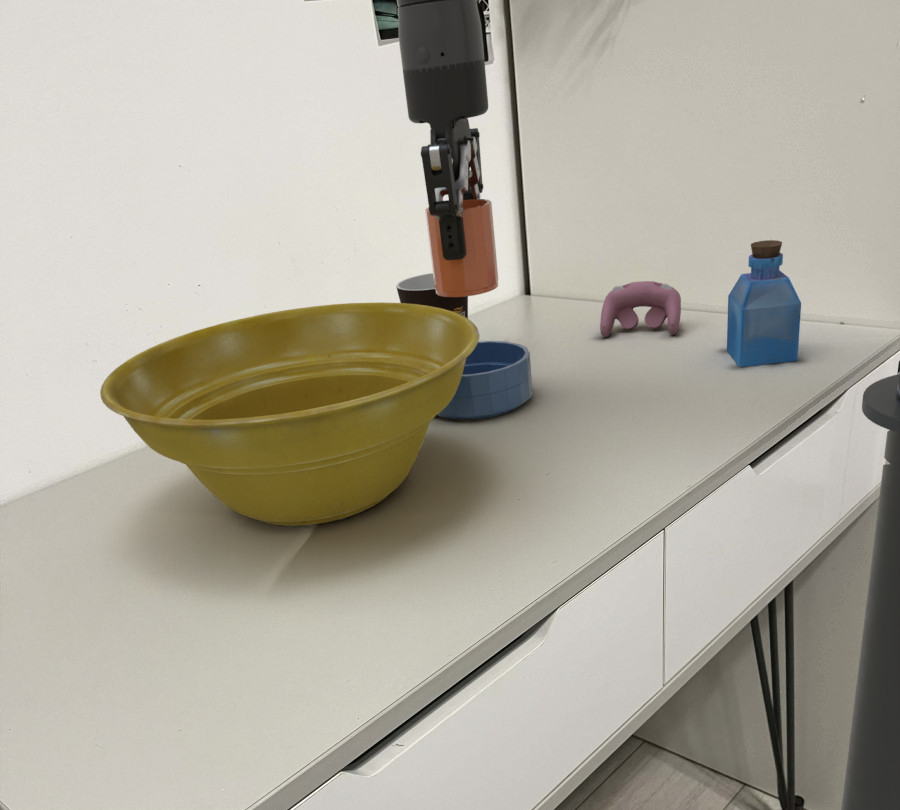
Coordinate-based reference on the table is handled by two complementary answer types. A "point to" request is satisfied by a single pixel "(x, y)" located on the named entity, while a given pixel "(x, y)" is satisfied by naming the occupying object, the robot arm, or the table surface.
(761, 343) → the perfume bottle
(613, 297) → the video game controller
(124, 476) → the table surface
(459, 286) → the cup
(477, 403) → the bowl
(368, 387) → the planter bowl
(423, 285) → the coffee mug
